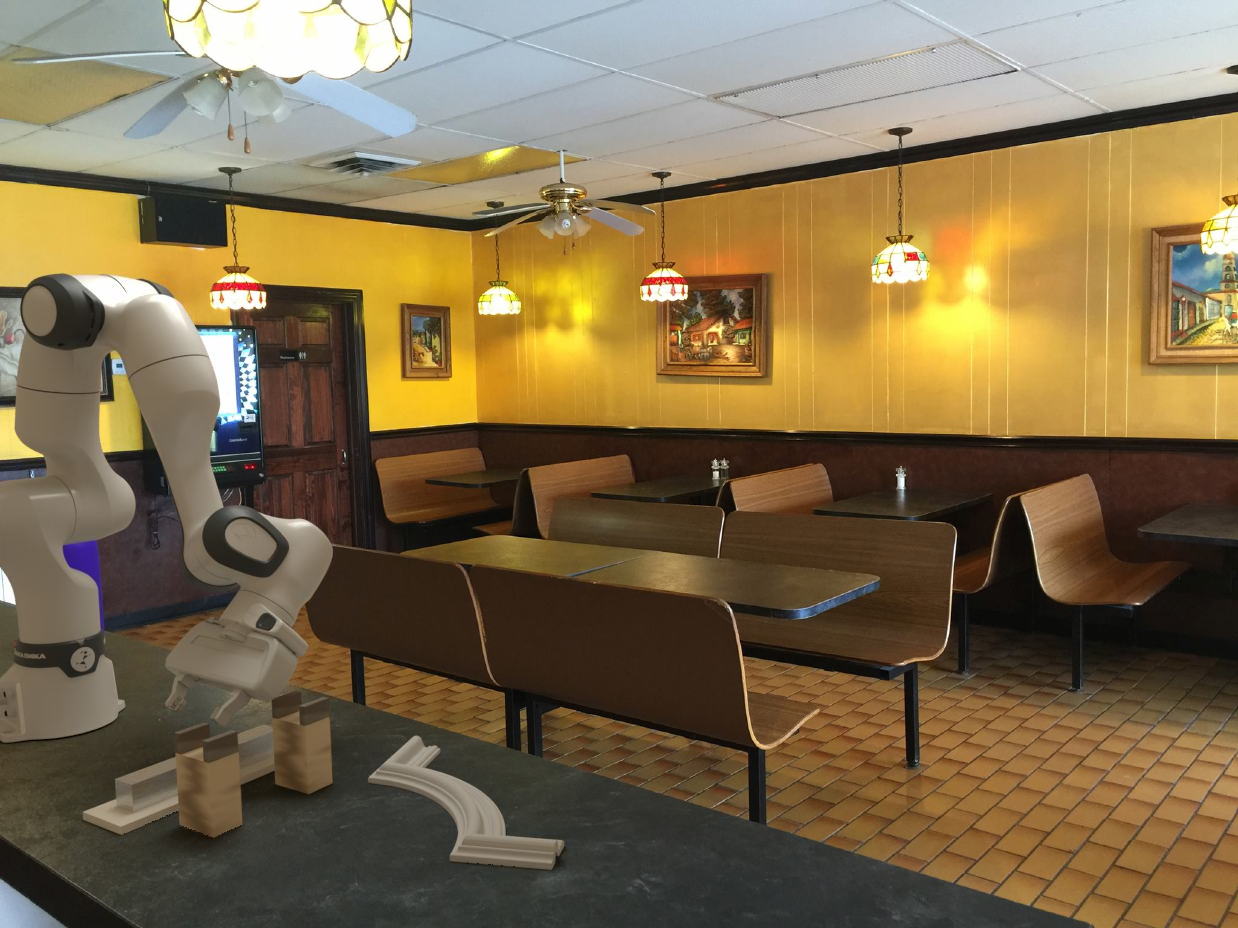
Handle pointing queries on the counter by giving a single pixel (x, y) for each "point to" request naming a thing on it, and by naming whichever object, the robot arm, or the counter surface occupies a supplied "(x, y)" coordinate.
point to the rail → (162, 776)
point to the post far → (301, 743)
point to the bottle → (86, 565)
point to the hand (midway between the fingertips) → (193, 715)
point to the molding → (465, 812)
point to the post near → (208, 780)
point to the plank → (157, 805)
